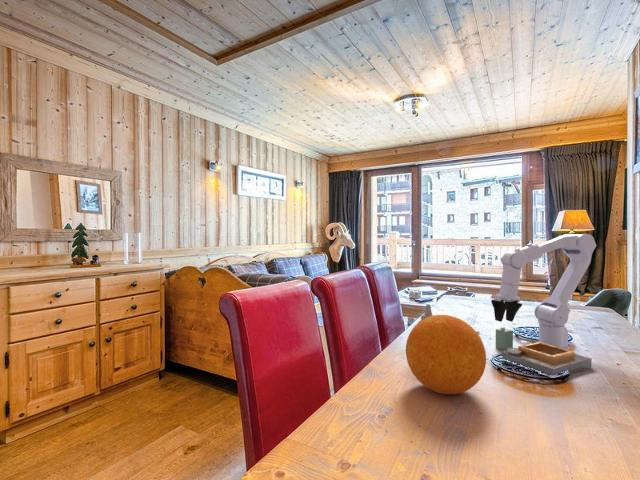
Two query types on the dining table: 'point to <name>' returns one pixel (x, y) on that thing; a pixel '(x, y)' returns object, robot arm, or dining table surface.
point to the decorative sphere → (445, 354)
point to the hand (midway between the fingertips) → (503, 320)
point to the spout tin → (504, 339)
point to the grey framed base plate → (547, 358)
